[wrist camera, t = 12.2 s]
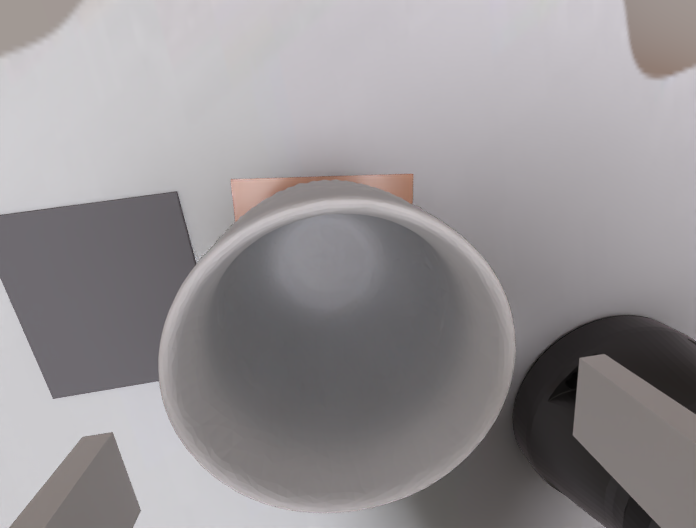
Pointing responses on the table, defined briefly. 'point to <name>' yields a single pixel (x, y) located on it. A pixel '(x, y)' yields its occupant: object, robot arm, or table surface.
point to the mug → (336, 350)
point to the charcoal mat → (96, 287)
